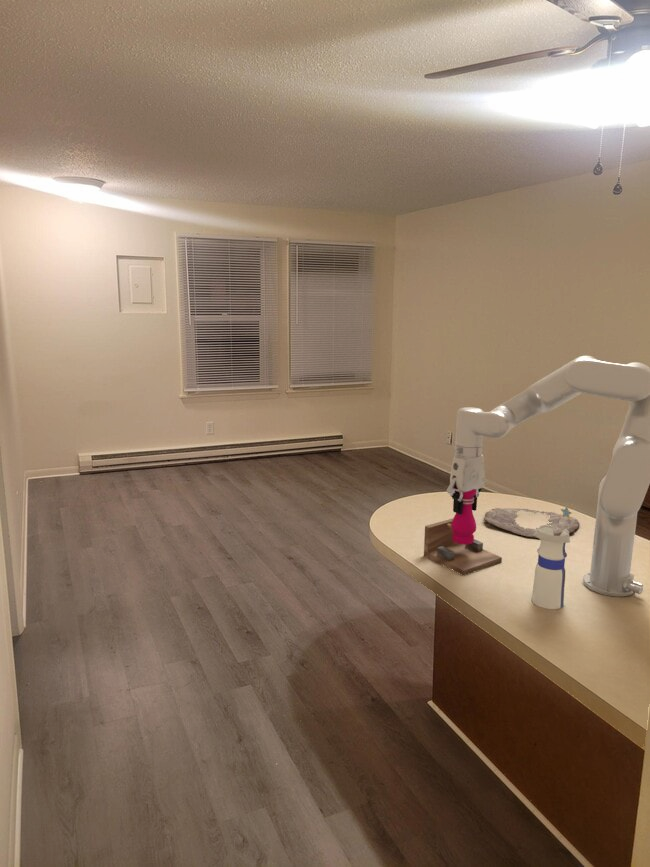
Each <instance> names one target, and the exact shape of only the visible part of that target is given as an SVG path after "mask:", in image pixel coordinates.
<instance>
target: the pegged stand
mask: <svg viewBox="0 0 650 867" xmlns="http://www.w3.org/2000/svg"><path fill="white" fill-rule="evenodd" d="M453 518H454V517H453ZM453 518H449V519H445V520H441V521H438V522H435V523H431V524H427V525H425V526H424V541H423V543H424V544H423V545H424V546H423V556H424V557H425V556H426V557H425V558H427V557H428V559H429V558H430V559H429V560H431V559H432V560H431V561H433V560H434V561H433V562H435V561H436V562H435V563H437V562H438V563H437V564H439V563H440V564H439V565H441V564H442V565H441V566H443V565H444V567H445V566H446V567H445V568H447V567H449V568H450V569H449V568H448V569H449V570H451V569H453V570H454V572H455V571H456V572H455V573H457V572H458V573H457V574H459V573H460V574H459V575H461V574H462V575H461V576H463V575H464V576H466V575H469V574H471V573H475V572H478V571H480V570H483V569H487V568H489V567H491V566H495V565H497V564H500V563H502V561H503V557H502V556H499V555H497V554H496V553H493V552H491V551H488V550H486V549H484V546H483V545H484V542H482V541H479V540H478V539H475V538H474V542H473V543H472V544H467V545H464V544H458V543H455V542H454V541H453V540H452V534H453V533H454V532H453V530H452V528H451V524H452V520H453ZM453 570H452V571H453ZM474 571H475V572H474ZM468 573H469V574H468ZM465 574H466V575H465Z"/></svg>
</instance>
